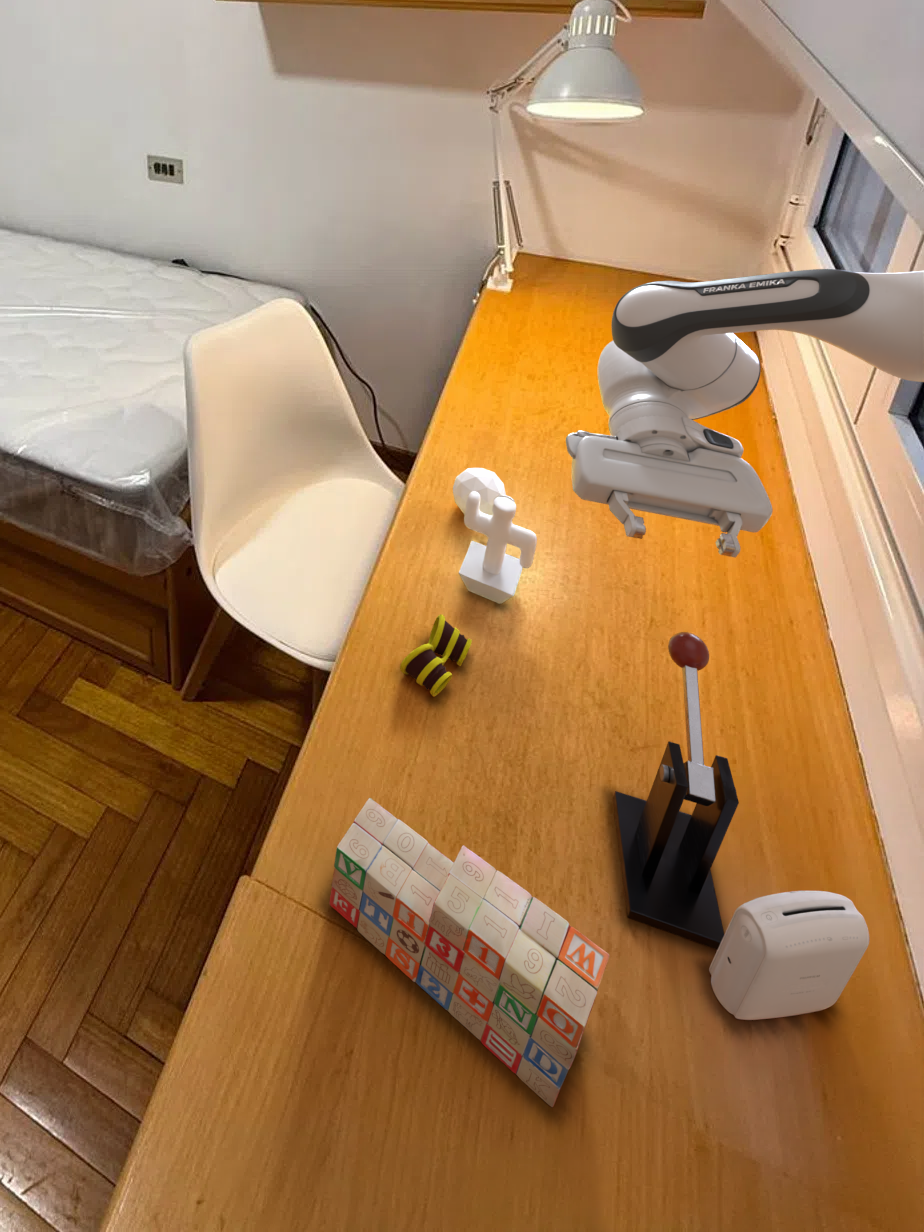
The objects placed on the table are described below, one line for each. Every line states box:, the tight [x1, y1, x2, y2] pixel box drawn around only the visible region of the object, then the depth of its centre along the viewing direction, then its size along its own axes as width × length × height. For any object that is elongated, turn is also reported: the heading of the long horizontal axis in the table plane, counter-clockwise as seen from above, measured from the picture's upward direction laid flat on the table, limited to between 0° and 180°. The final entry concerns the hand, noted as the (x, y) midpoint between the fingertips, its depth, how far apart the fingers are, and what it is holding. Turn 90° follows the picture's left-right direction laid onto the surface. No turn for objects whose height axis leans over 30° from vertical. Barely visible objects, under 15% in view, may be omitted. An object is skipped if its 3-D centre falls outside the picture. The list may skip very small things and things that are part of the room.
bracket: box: [612, 741, 740, 951], centre depth 80 cm, size 12×8×15 cm, turn 160°
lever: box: [667, 631, 716, 806], centre depth 82 cm, size 15×4×4 cm, turn 160°
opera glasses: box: [399, 613, 473, 698], centre depth 103 cm, size 10×5×5 cm, turn 137°
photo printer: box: [708, 890, 870, 1021], centre depth 72 cm, size 10×4×12 cm, turn 96°
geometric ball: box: [452, 467, 507, 516], centre depth 128 cm, size 8×8×8 cm
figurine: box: [458, 491, 538, 605], centre depth 113 cm, size 7×9×15 cm
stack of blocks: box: [328, 797, 610, 1108], centre depth 73 cm, size 21×6×12 cm, turn 48°
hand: (683, 544), depth 90 cm, fingers open, 8 cm apart
